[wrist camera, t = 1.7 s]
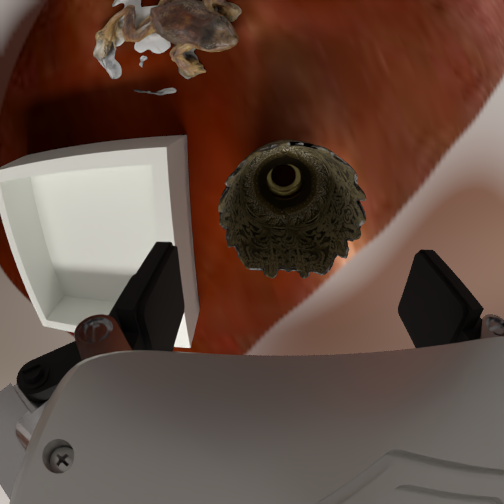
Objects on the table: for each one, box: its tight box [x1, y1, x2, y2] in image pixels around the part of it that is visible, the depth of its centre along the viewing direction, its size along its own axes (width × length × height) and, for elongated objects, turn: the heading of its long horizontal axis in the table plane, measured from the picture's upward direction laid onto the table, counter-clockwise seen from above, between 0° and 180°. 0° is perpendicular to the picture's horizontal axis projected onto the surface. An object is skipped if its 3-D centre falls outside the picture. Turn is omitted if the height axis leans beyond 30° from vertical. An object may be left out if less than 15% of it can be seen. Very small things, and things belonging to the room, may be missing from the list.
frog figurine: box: [93, 0, 241, 95], centre depth 14 cm, size 12×12×4 cm
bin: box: [0, 135, 200, 348], centre depth 22 cm, size 16×16×5 cm
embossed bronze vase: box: [218, 140, 366, 278], centre depth 18 cm, size 8×7×8 cm
